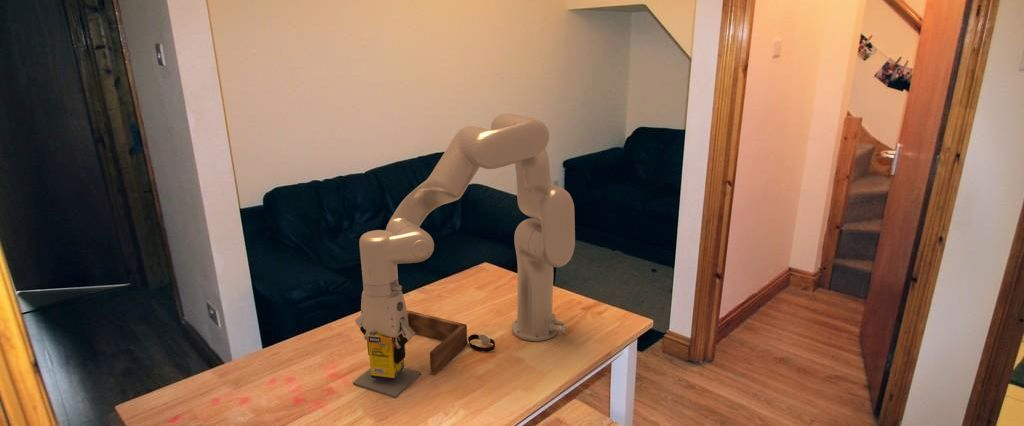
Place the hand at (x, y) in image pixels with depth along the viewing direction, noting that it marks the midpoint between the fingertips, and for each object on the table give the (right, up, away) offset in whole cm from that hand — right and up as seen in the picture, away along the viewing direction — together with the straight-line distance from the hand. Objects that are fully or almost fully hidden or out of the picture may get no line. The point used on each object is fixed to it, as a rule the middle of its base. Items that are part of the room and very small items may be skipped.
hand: (386, 356), depth 123 cm
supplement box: (0, -4, +1) cm, 5 cm away
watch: (+21, -2, +16) cm, 26 cm away
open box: (+6, -2, +13) cm, 15 cm away
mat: (0, -6, +2) cm, 6 cm away
